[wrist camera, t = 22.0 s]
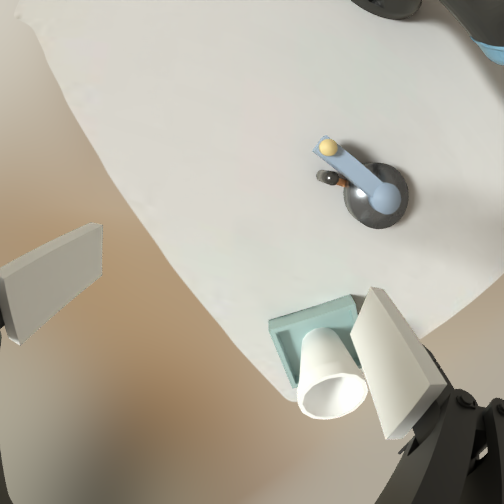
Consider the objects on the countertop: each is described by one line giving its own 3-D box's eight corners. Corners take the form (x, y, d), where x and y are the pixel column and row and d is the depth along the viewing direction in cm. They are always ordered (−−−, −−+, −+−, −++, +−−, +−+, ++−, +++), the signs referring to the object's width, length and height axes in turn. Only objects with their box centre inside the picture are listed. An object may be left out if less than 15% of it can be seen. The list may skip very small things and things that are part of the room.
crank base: (389, 150, 35) (409, 149, 29) (404, 214, 38) (425, 223, 32) (314, 172, 37) (324, 173, 31) (334, 237, 40) (346, 251, 33)
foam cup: (352, 352, 45) (371, 405, 32) (302, 370, 46) (310, 426, 34) (339, 310, 42) (360, 362, 30) (284, 330, 44) (288, 387, 32)
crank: (399, 194, 34) (410, 197, 31) (382, 217, 35) (392, 222, 32) (326, 131, 32) (331, 129, 29) (308, 156, 33) (312, 155, 30)
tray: (350, 294, 42) (355, 303, 39) (362, 355, 46) (366, 366, 43) (268, 320, 44) (268, 330, 41) (291, 377, 48) (292, 388, 45)
